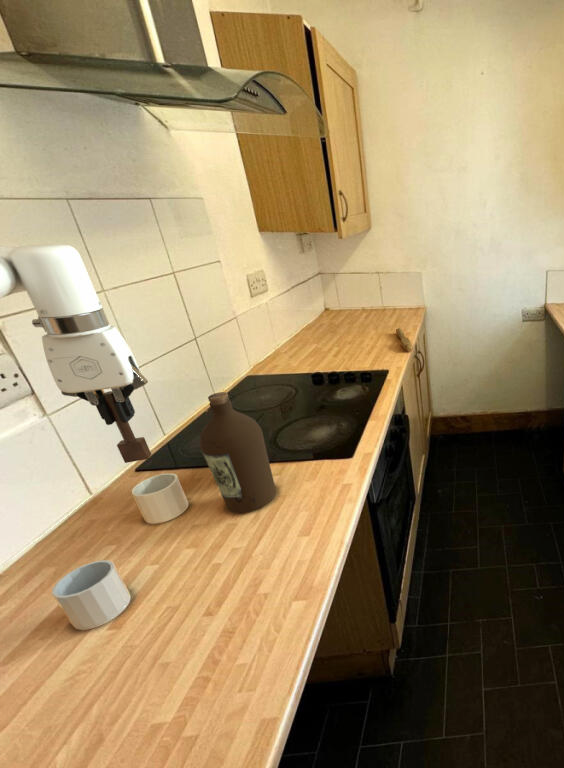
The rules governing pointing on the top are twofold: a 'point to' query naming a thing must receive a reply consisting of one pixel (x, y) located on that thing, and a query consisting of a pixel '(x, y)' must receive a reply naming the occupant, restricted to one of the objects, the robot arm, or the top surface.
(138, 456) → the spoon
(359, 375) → the top surface
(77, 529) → the top surface
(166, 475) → the white cup
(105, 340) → the robot arm
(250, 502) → the olive oil
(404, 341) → the rough brown stick
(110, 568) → the white mortar
